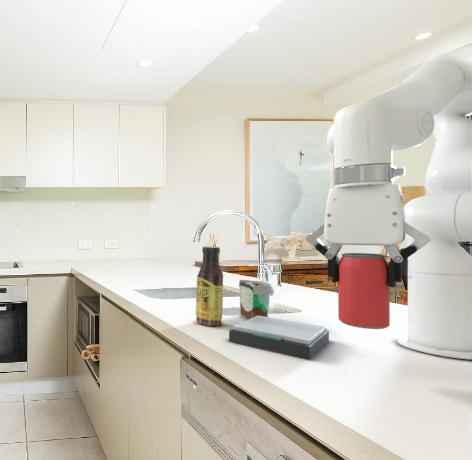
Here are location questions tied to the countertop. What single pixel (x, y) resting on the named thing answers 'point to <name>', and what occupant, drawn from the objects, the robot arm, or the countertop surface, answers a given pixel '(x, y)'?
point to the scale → (280, 336)
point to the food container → (254, 298)
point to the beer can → (363, 291)
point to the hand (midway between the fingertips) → (362, 282)
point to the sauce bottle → (209, 289)
